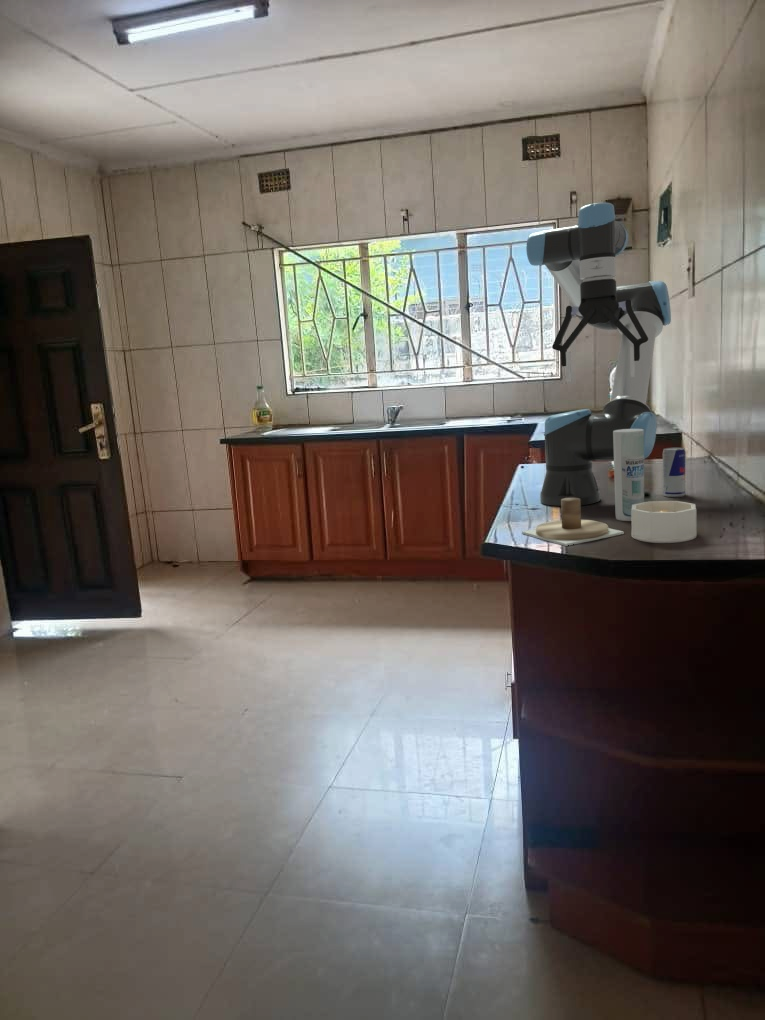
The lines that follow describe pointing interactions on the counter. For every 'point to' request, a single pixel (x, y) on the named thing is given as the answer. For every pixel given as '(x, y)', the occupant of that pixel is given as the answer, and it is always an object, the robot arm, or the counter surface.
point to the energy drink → (674, 472)
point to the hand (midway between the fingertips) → (600, 379)
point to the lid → (571, 524)
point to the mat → (570, 542)
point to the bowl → (663, 521)
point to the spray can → (628, 470)
